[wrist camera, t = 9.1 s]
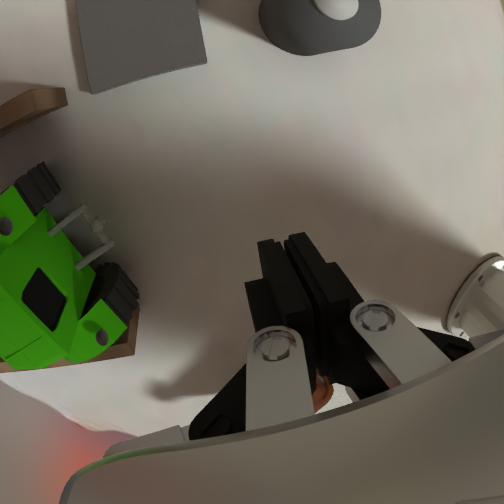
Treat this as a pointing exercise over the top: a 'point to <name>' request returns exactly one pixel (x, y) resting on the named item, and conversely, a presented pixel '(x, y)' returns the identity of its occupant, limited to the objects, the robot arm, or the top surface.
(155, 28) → the pad
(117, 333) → the toy tractor
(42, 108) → the bay
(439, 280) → the top surface
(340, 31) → the dark grey short cylinder
